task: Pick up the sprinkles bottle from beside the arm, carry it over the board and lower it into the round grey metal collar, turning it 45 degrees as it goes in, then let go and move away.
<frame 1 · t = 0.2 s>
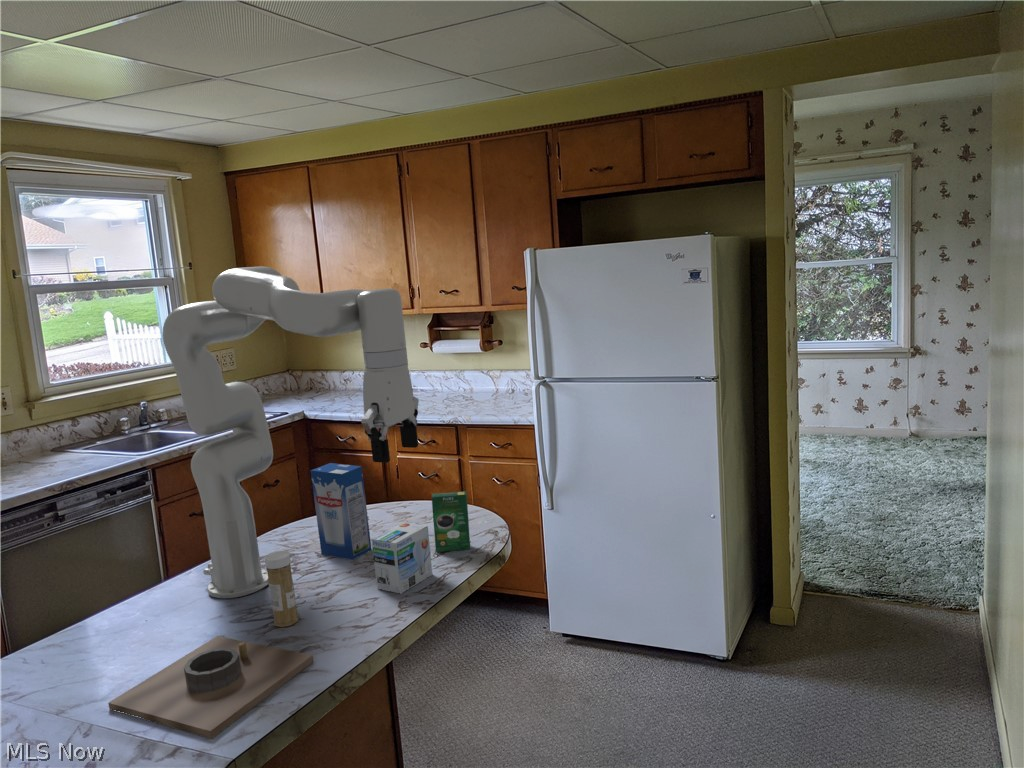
hand: (396, 454, 140), 31 cm above the kitchen counter, tool pointing down, fingers open, 9 cm apart
coffee box: (453, 550, 176), on the kitchen counter
collar board: (215, 684, 126), on the kitchen counter
sprinkles bottle: (286, 623, 146), on the kitchen counter
light bulb box: (405, 582, 160), on the kitchen counter
milk carton: (346, 552, 179), on the kitchen counter
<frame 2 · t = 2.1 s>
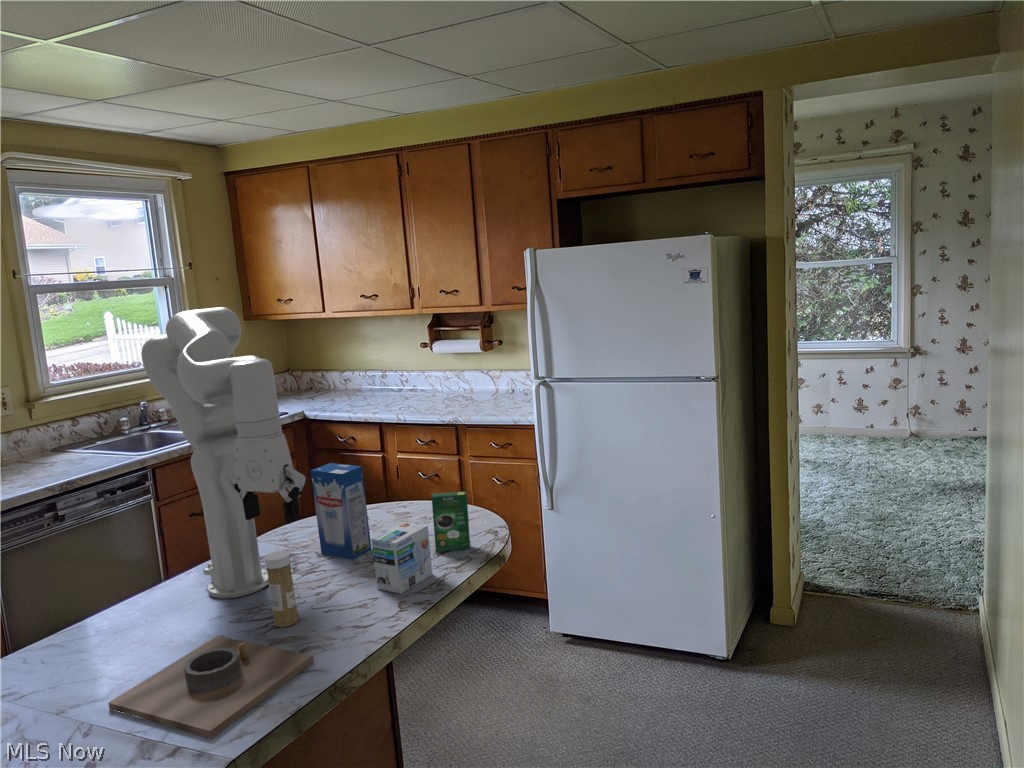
hand: (272, 519, 143), 20 cm above the kitchen counter, tool pointing down, fingers open, 9 cm apart
nothing on the kitchen counter moved.
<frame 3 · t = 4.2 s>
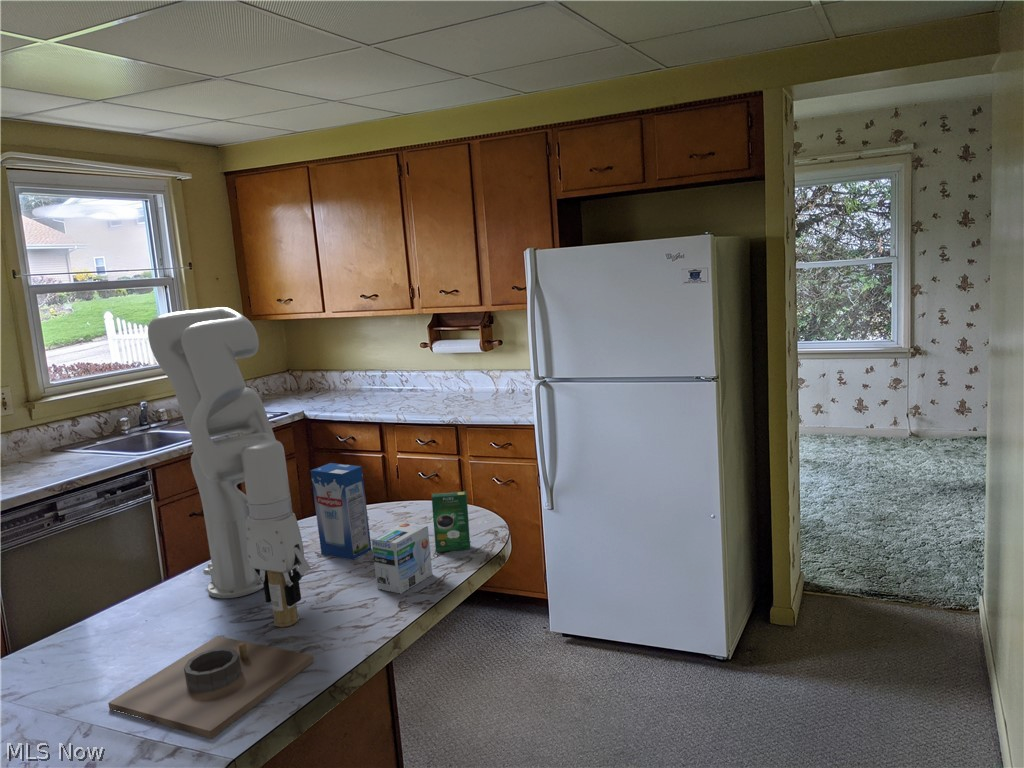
hand: (283, 600, 146), 4 cm above the kitchen counter, tool pointing down, fingers closed on sprinkles bottle, 4 cm apart
sprinkles bottle: (286, 623, 146), on the kitchen counter, touching gripper
everything else where it was.
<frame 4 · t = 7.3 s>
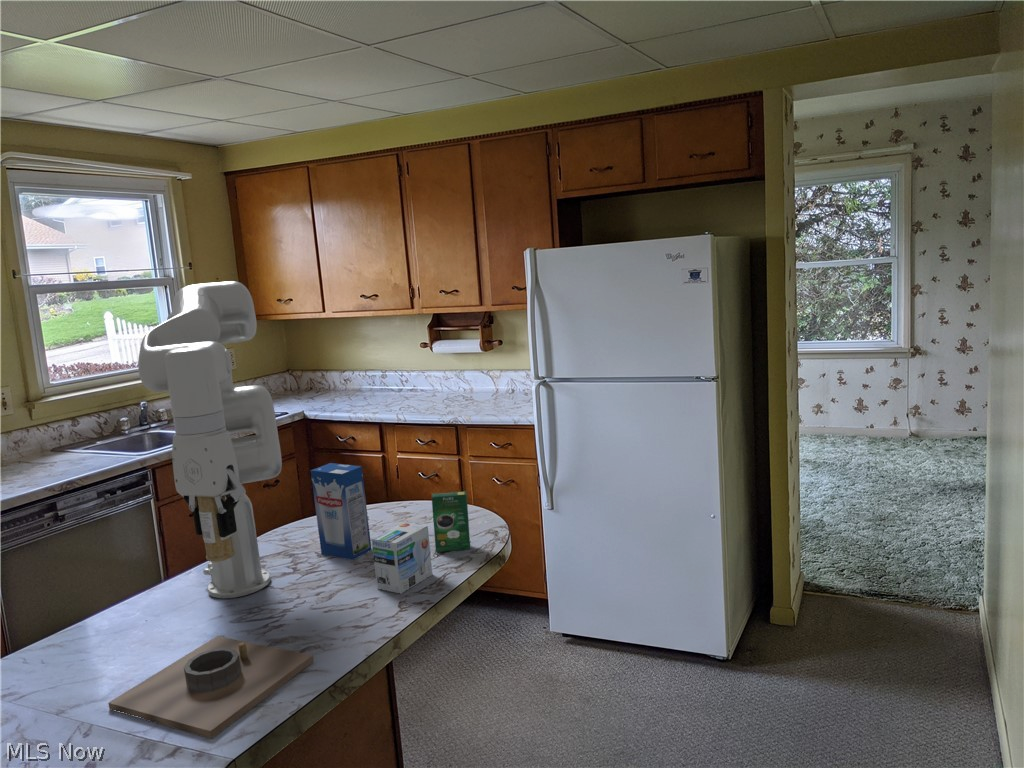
hand: (216, 532, 127), 24 cm above the kitchen counter, tool pointing down, fingers closed on sprinkles bottle, 4 cm apart
sprinkles bottle: (220, 558, 128), point 19 cm above the kitchen counter, touching gripper
everything else where it was.
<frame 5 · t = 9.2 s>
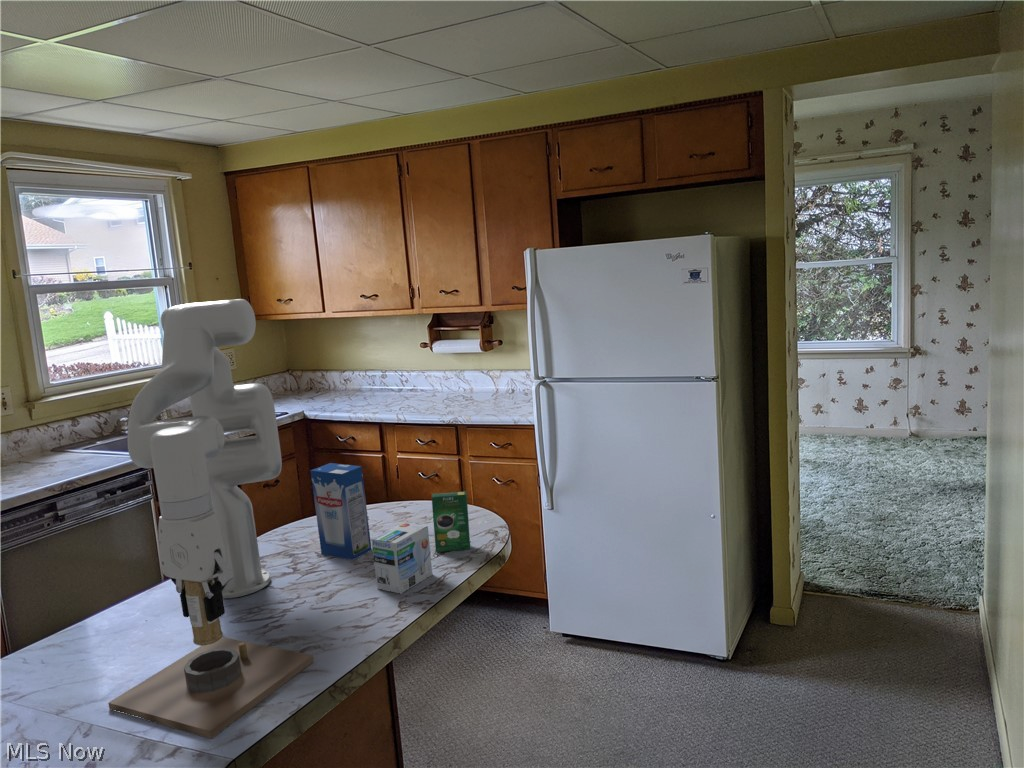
hand: (204, 614, 124), 12 cm above the kitchen counter, tool pointing down, fingers closed on sprinkles bottle, 4 cm apart
sprinkles bottle: (208, 640, 125), point 8 cm above the kitchen counter, touching gripper
everything else where it was.
when the fingers open (7 cm above the kitchen counter, at t = 10.7 s): sprinkles bottle drops 1 cm, resting on collar board.
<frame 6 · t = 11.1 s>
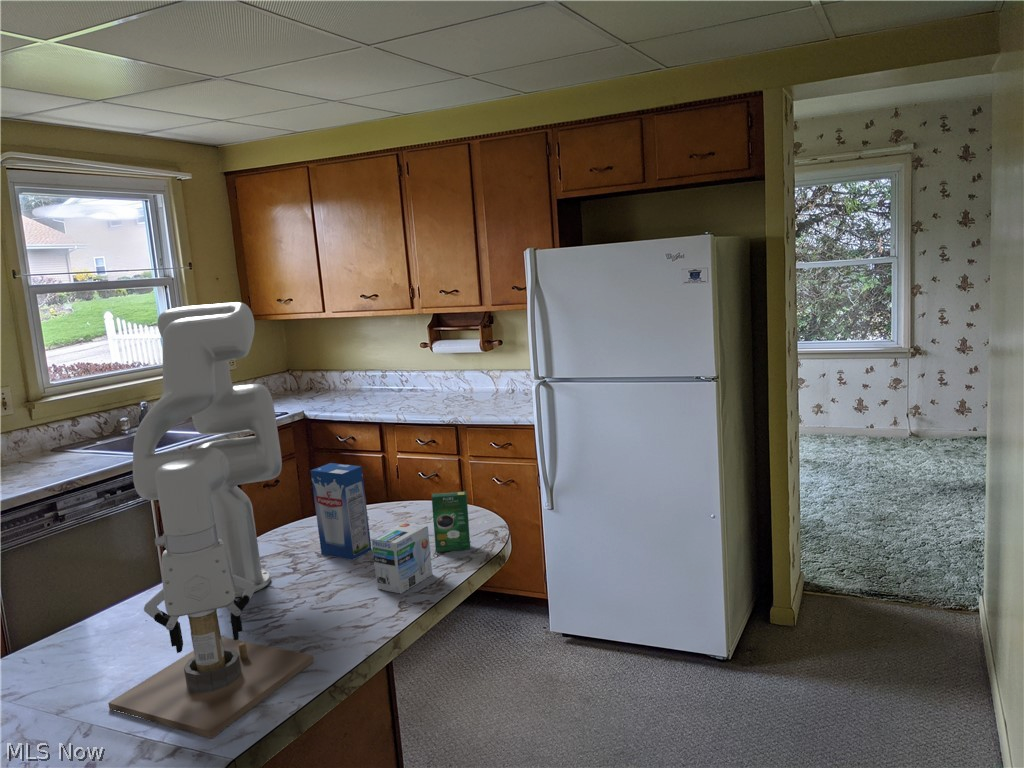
hand: (208, 642, 125), 7 cm above the kitchen counter, tool pointing down, fingers open, 8 cm apart
sprinkles bottle: (213, 678, 126), point 1 cm above the kitchen counter, touching collar board
everything else where it was.
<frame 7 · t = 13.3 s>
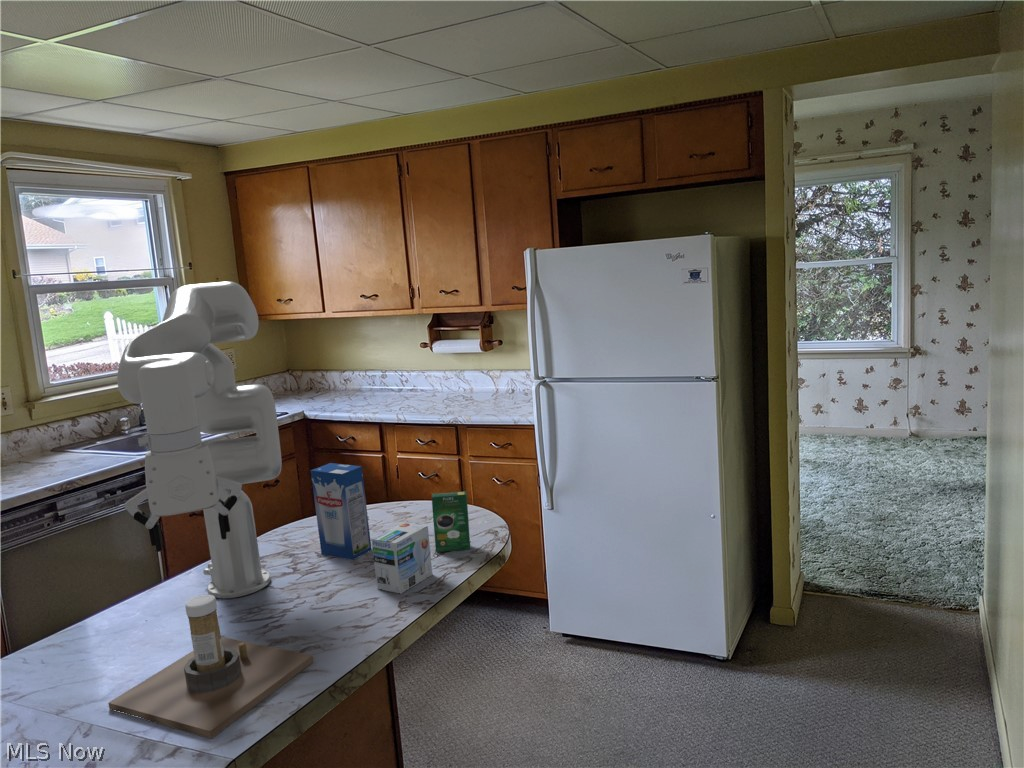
hand: (192, 542, 125), 23 cm above the kitchen counter, tool pointing down, fingers open, 9 cm apart
nothing on the kitchen counter moved.
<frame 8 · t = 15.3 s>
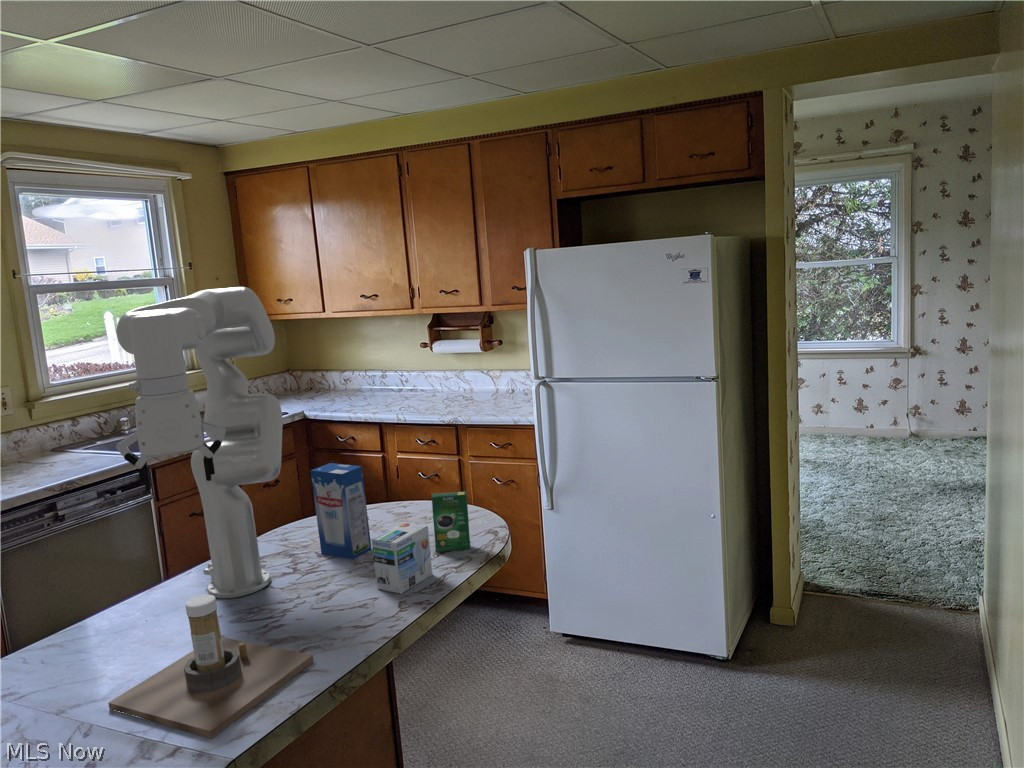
hand: (179, 483, 134), 30 cm above the kitchen counter, tool pointing down, fingers open, 9 cm apart
nothing on the kitchen counter moved.
at the end: sprinkles bottle 0.3 cm off-centre on the collar board, point 1.0 cm above the collar board's base; sprinkles bottle tilted 0°; the gripper is holding nothing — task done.
